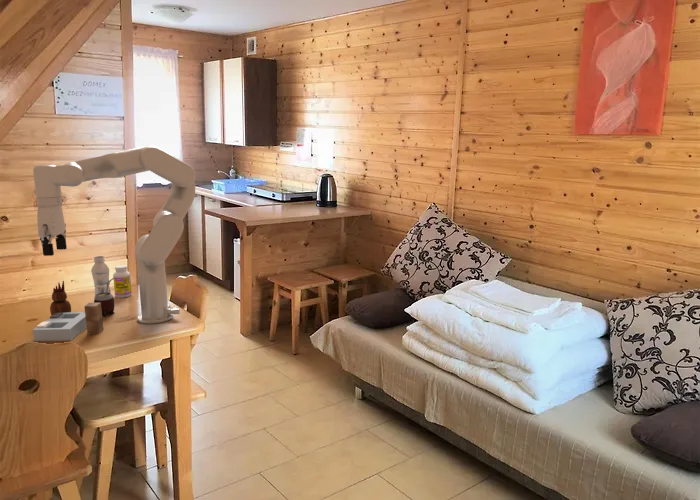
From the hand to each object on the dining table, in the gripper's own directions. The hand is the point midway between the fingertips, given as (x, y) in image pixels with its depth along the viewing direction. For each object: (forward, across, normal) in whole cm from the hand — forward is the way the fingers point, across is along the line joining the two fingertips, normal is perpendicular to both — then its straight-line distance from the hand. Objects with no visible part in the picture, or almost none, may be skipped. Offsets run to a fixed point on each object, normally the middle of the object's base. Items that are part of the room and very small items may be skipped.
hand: (55, 252), depth 193 cm
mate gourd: (+28, -18, +8) cm, 35 cm away
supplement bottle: (+28, -43, +6) cm, 52 cm away
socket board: (+28, 0, 0) cm, 28 cm away
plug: (+28, +1, +11) cm, 30 cm away
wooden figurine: (+28, -12, -6) cm, 32 cm away
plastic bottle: (+28, -29, +3) cm, 41 cm away
